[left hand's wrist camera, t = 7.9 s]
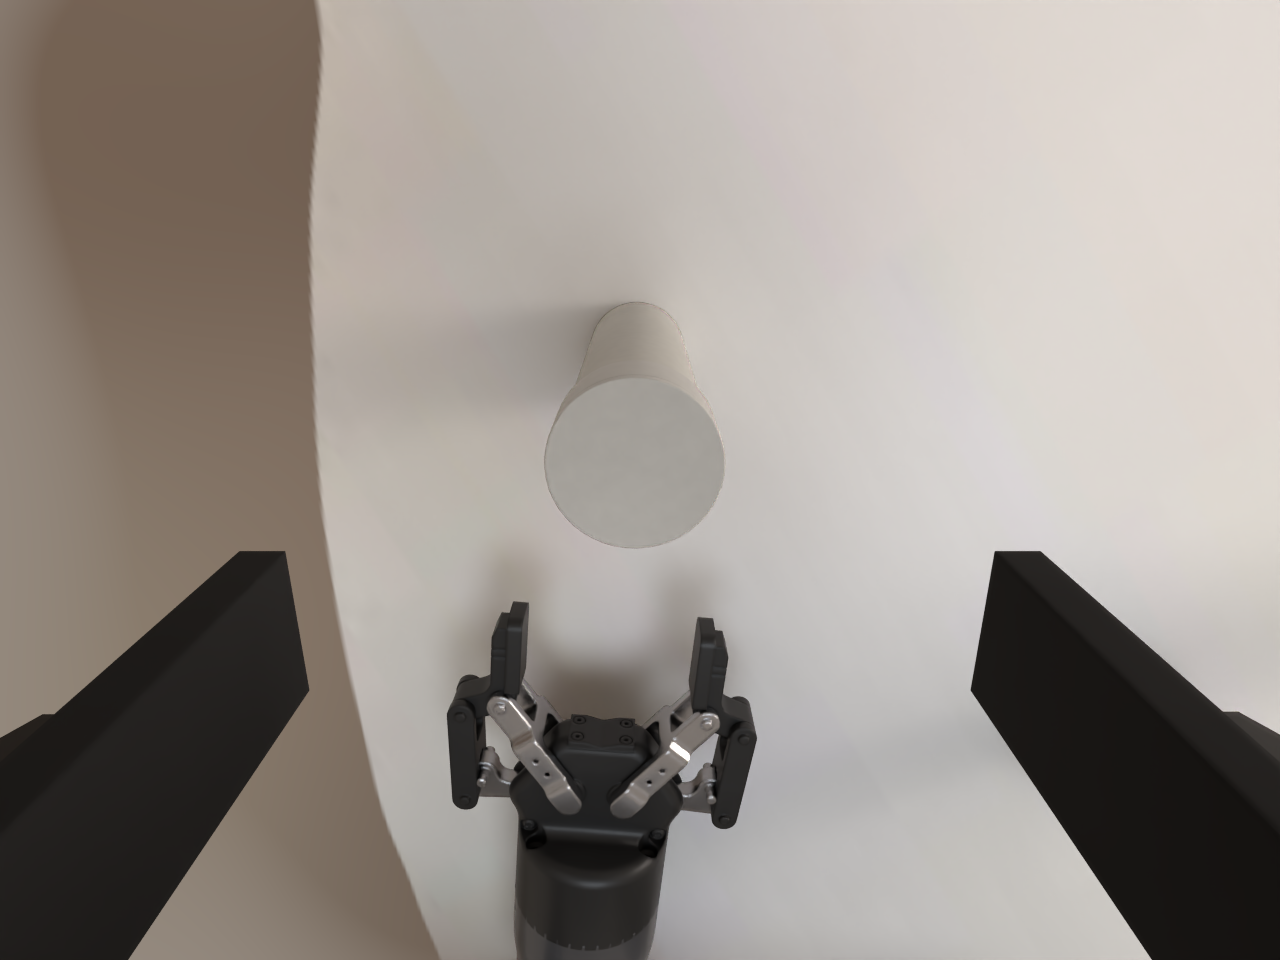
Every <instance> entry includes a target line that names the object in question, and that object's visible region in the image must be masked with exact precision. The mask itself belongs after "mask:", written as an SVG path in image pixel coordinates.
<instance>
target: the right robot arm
mask: <svg viewBox="0 0 1280 960" xmlns="http://www.w3.org/2000/svg"><path fill="white" fill-rule="evenodd" d="M528 615H529V603H526V602H513V604H512V607H511V610H510V613H503V612H502V613H501V615H500V617H499V619H498V621H497V624H496V627H495V630H494V632H493V635H492V645H491V648H492V649H491V674H490V675H488V676H486V677H482V678H479V677H477V676H475V675H466V676H463V677H462V678H461V679H460V681H459V683H458V686H457V692H456V694H455V697H454V700H453V702H452V704H451V705H450V707H449V710H448V713H447V724H448V739H449V754H450V769H451V784H452V799H453V803H454V804H455V805H456V806H457V807H458V808H460V809H471V808H473V807H475V806H476V804H477V802H478V798H479V796H482V797H510V798H511V800H512V802H513V804H514V805H515V807H516V809H517V811H518V815H519V823H518V844H517V864H516V884H515V906H514V935H515V943H516V949H517V960H647V958H648V955H649V952H650V949H651V946H652V942H653V938H654V932H655V926H656V919H657V911H658V904H659V896H660V889H661V882H662V874H663V867H664V859H665V852H666V845H667V837H668V830H669V826H670V824H671V822H672V820H673V819H674V818H675V817H676V816H677V815H678V813H679V812H680V810H686V811H694V812H702V813H710V814H711V817H712V823H713V824H714V825H715V826H716V827H717V828H720V829H727V828H730V827H732V826H733V825H734V824H735V823H736V821H737V817H738V813H739V809H740V805H741V801H742V797H743V793H744V789H745V785H746V781H747V777H748V773H749V769H750V765H751V761H752V757H753V753H754V749H755V745H756V741H757V736H756V731H755V727H754V722H753V717H752V713H751V708H750V704H749V702H748V700H747V699H745V698H744V697H740V696H737V697H733V698H729V697H727V696H725V695H724V694H723V689H724V682H725V675H726V668H727V662H728V653H727V648H726V643H725V639H724V635H723V632H722V631H716V630H715V627H714V621H713V618H701V617H698V618H697V623H696V631H695V638H694V646H693V653H692V660H691V668H690V675H689V687H690V690H689V691H688V692H686V693H685V694H684V695H683V696H682V697H681V698H680V699H679V700H678V701H676V702H675V703H674V704H673V705H672V706H669V705H666V706H664V707H663V708H661V709H660V710H659V711H658V712H657V713H656V714H655V715H654V716H653V717H651V718H650V719H649V720H648V721H647V722H646V723H645V724H644V725H643V726H639V725H636V724H635V719H628V718H615V719H608V720H601V719H597V718H594V717H591V716H588V715H576V714H572V716H571V719H568V720H564V721H563V719H562V718H561V717H560V716H559V714H558V713H557V712H556V710H555V709H554V708H553V707H552V705H551V704H550V703H549V702H548V700H547V699H546V698H545V697H544V696H542V695H540V696H538V695H537V694H536V693H535V692H534V690H533V689H532V688H531V687H530V685H529V684H528V683H527V682H526V680H525V679H524V678H523V677H524V673H525V669H526V656H527V636H528ZM489 715H490V716H491V717H492V718H493V719H494V720H495V722H496V723H497V724H498V725H499V727H500V728H501V729H502V730H503V731H504V733H505V734H506V735H507V736H508V737H509V739H510V741H511V747H512V750H513V752H514V754H515V755H516V756H517V758H518V759H519V760H520V761H519V762H518V763H517V764H516V766H515V767H514V769H508V768H506V767H504V766H503V765H502V764H501V762H500V758H499V756H498V755H497V754H496V753H495V748H494V747H492V746H488V747H486V730H485V716H489ZM714 733H716V734H719V736H718V741H717V745H716V749H715V754H714V758H713V762H712V764H711V763H705V764H704V765H703V768H702V769H701V770H700V771H699V772H698V774H697V776H696V777H695V779H693V780H692V781H689V782H682V781H681V778H680V775H679V774H678V772H680V771H681V770H682V769H683V768H684V767H685V766H686V765H687V763H688V761H689V759H690V756H691V754H692V753H693V752H694V751H695V750H696V749H697V748H698V747H699V746H700V745H702V744H703V743H704V742H705V741H706V740H707V739H708V738H710V737H711V736H712V735H713V734H714Z"/></svg>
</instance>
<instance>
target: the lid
mask: <svg viewBox="0 0 1280 960" xmlns="http://www.w3.org/2000/svg"><path fill="white" fill-rule="evenodd" d="M724 474H725V452H724V446H723V442H722V439H721V436H720V433H719V430H718V427H717V424H716V421H715V418H714V415H713V412H712V409H711V407H710V405H709V403H708V401H707V400H706V398H705V397H704V395H703V394H702V392H701V391H700V390H699V389H698V388H697V387H696V385H695V384H694V383H693V382H691V381H690V380H689V379H688V378H687V377H685V376H684V375H682V374H681V373H679V372H678V371H676V370H674V369H672V368H670V367H667V366H665V365H662V364H658V363H655V362H649V361H642V360H629V361H620V362H616V363H611V364H609V365H606V366H603V367H600V368H599V369H597V370H595V371H593V372H591V373H589V374H588V375H587V376H585V377H584V378H582V379H581V380H580V381H579V382H578V383H577V384H576V385H575V386H574V387H573V388H572V389H571V391H570V392H569V393H568V394H567V396H566V397H565V399H564V401H563V402H562V404H561V406H560V409H559V411H558V413H557V416H556V418H555V421H554V424H553V426H552V429H551V431H550V434H549V437H548V441H547V444H546V450H545V475H546V481H547V484H548V488H549V491H550V493H551V495H552V498H553V500H554V502H555V503H556V505H557V507H558V508H559V510H560V511H561V512H562V514H563V515H564V516H565V517H566V519H567V520H568V521H569V522H571V523H572V524H573V525H574V526H575V527H576V528H577V529H579V530H580V531H581V532H583V533H584V534H586V535H588V536H590V537H591V538H593V539H595V540H598V541H600V542H602V543H605V544H609V545H612V546H617V547H623V548H647V547H653V546H658V545H661V544H664V543H667V542H670V541H672V540H675V539H677V538H679V537H681V536H682V535H684V534H686V533H687V532H689V531H690V530H691V529H693V528H694V527H695V526H696V525H697V524H699V523H700V522H701V520H702V519H703V518H704V517H705V516H706V515H707V514H708V512H709V511H710V510H711V508H712V507H713V505H714V503H715V501H716V499H717V498H718V495H719V493H720V490H721V487H722V484H723V479H724Z"/></svg>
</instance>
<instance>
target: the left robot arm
mask: <svg viewBox="0 0 1280 960" xmlns="http://www.w3.org/2000/svg"><path fill="white" fill-rule="evenodd" d="M308 692H309V686H308V680H307V674H306V668H305V663H304V657H303V651H302V645H301V639H300V634H299V628H298V622H297V617H296V611H295V605H294V599H293V593H292V588H291V582H290V576H289V571H288V565H287V559H286V553H285V551H239V552H238V553H237V554H236V555H235V556H234V557H232V558H231V559H230V560H229V561H228V562H227V563H226V564H224V565H223V566H222V567H221V568H220V569H219V570H218V571H217V572H215V573H214V574H213V575H212V576H211V577H210V578H209V579H207V580H206V581H205V582H204V583H203V584H202V585H201V586H199V587H198V588H197V589H196V590H195V591H194V592H193V593H192V594H190V595H189V596H188V597H187V598H186V599H185V600H184V601H182V602H181V603H180V604H179V605H178V606H177V607H176V608H174V609H173V610H172V611H171V612H170V613H169V614H168V615H167V616H165V617H164V618H163V619H162V620H161V621H160V622H159V623H157V624H156V625H155V626H154V627H153V628H152V629H151V630H149V631H148V632H147V633H146V634H145V635H144V636H143V637H142V638H140V639H139V640H138V641H137V642H136V643H135V644H134V645H132V646H131V647H130V648H129V649H128V650H127V651H126V652H125V653H123V654H122V655H121V656H120V657H119V658H118V659H117V660H115V661H114V662H113V663H112V664H111V665H110V666H109V667H108V668H106V669H105V670H104V671H103V672H102V673H101V674H100V675H98V676H97V677H96V678H95V679H94V680H93V681H92V682H90V683H89V684H88V685H87V686H86V687H85V688H84V689H82V690H81V691H80V692H79V693H78V694H77V695H76V696H75V697H73V698H72V699H71V700H70V701H69V702H68V703H67V704H65V705H64V706H63V707H62V708H61V709H60V710H59V711H57V712H56V713H55V714H42V715H41V716H39V717H37V718H35V719H33V720H32V721H30V722H28V723H26V724H24V725H23V726H21V727H19V728H17V729H15V730H14V731H12V732H10V733H8V734H6V735H5V736H3V737H1V738H0V960H128V959H129V958H130V956H131V955H132V953H133V952H134V950H135V949H136V947H137V946H138V944H139V943H140V941H141V940H142V938H143V937H144V935H145V934H146V932H147V931H148V929H149V928H150V926H151V925H152V923H153V922H154V920H155V919H156V917H157V916H158V915H159V913H160V912H161V910H162V908H163V907H164V906H165V904H166V903H167V901H168V900H169V898H170V897H171V895H172V894H173V892H174V891H175V889H176V888H177V886H178V885H179V883H180V882H181V880H182V879H183V877H184V876H185V874H186V873H187V871H188V870H189V868H190V867H191V865H192V864H193V862H194V861H195V860H196V858H197V856H198V855H199V854H200V852H201V851H202V849H203V848H204V846H205V845H206V843H207V842H208V840H209V839H210V837H211V836H212V834H213V833H214V831H215V830H216V828H217V827H218V825H219V824H220V822H221V821H222V819H223V818H224V816H225V815H226V813H227V812H228V810H229V809H230V807H231V806H232V805H233V803H234V802H235V800H236V799H237V797H238V796H239V794H240V793H241V791H242V790H243V788H244V787H245V785H246V784H247V782H248V781H249V779H250V778H251V776H252V775H253V773H254V772H255V770H256V769H257V767H258V766H259V764H260V763H261V761H262V760H263V758H264V757H265V755H266V754H267V752H268V751H269V749H270V748H271V747H272V745H273V744H274V742H275V740H276V739H277V738H278V736H279V735H280V733H281V732H282V730H283V729H284V727H285V726H286V724H287V723H288V721H289V720H290V718H291V717H292V715H293V714H294V712H295V711H296V709H297V708H298V706H299V705H300V703H301V702H302V700H303V699H304V697H305V696H306V694H307V693H308ZM971 692H972V693H973V695H974V696H975V697H976V699H977V700H978V702H979V703H980V705H981V706H982V708H983V709H984V711H985V712H986V714H987V715H988V717H989V718H990V720H991V721H992V723H993V724H994V726H995V727H996V729H997V730H998V732H999V733H1000V735H1001V736H1002V738H1003V739H1004V741H1005V742H1006V744H1007V745H1008V747H1009V748H1010V750H1011V751H1012V752H1013V754H1014V755H1015V757H1016V758H1017V760H1018V761H1019V763H1020V764H1021V766H1022V767H1023V769H1024V770H1025V772H1026V773H1027V775H1028V776H1029V778H1030V779H1031V781H1032V782H1033V784H1034V785H1035V787H1036V788H1037V790H1038V791H1039V793H1040V794H1041V796H1042V797H1043V799H1044V800H1045V802H1046V803H1047V805H1048V806H1049V807H1050V809H1051V810H1052V812H1053V813H1054V815H1055V816H1056V818H1057V819H1058V821H1059V822H1060V824H1061V825H1062V827H1063V828H1064V830H1065V831H1066V833H1067V834H1068V836H1069V837H1070V839H1071V840H1072V842H1073V843H1074V845H1075V846H1076V848H1077V849H1078V851H1079V852H1080V854H1081V855H1082V857H1083V858H1084V860H1085V861H1086V862H1087V864H1088V865H1089V867H1090V868H1091V870H1092V871H1093V873H1094V874H1095V876H1096V877H1097V879H1098V880H1099V882H1100V883H1101V885H1102V886H1103V888H1104V889H1105V891H1106V892H1107V894H1108V895H1109V897H1110V898H1111V900H1112V901H1113V903H1114V904H1115V906H1116V907H1117V909H1118V910H1119V912H1120V913H1121V915H1122V916H1123V918H1124V919H1125V920H1126V922H1127V923H1128V925H1129V926H1130V928H1131V929H1132V931H1133V932H1134V934H1135V935H1136V937H1137V938H1138V940H1139V941H1140V943H1141V944H1142V946H1143V947H1144V949H1145V950H1146V952H1147V953H1148V955H1149V956H1150V958H1151V959H1152V960H1280V735H1279V734H1278V733H1276V732H1274V731H1272V730H1270V729H1269V728H1267V727H1265V726H1263V725H1261V724H1260V723H1258V722H1256V721H1254V720H1252V719H1251V718H1249V717H1247V716H1245V715H1243V714H1241V713H1240V712H1223V711H1221V710H1220V709H1219V708H1218V707H1217V706H1216V705H1215V704H1213V703H1212V702H1211V701H1210V700H1209V699H1208V698H1207V697H1205V696H1204V695H1203V694H1202V693H1201V692H1200V691H1199V690H1198V689H1196V688H1195V687H1194V686H1193V685H1192V684H1191V683H1190V682H1188V681H1187V680H1186V679H1185V678H1184V677H1183V676H1182V675H1180V674H1179V673H1178V672H1177V671H1176V670H1175V669H1174V668H1173V667H1171V666H1170V665H1169V664H1168V663H1167V662H1166V661H1165V660H1163V659H1162V658H1161V657H1160V656H1159V655H1158V654H1157V653H1156V652H1154V651H1153V650H1152V649H1151V648H1150V647H1149V646H1148V645H1146V644H1145V643H1144V642H1143V641H1142V640H1141V639H1140V638H1138V637H1137V636H1136V635H1135V634H1134V633H1133V632H1132V631H1131V630H1129V629H1128V628H1127V627H1126V626H1125V625H1124V624H1123V623H1121V622H1120V621H1119V620H1118V619H1117V618H1116V617H1115V616H1113V615H1112V614H1111V613H1110V612H1109V611H1108V610H1107V609H1106V608H1104V607H1103V606H1102V605H1101V604H1100V603H1099V602H1098V601H1096V600H1095V599H1094V598H1093V597H1092V596H1091V595H1090V594H1088V593H1087V592H1086V591H1085V590H1084V589H1083V588H1082V587H1081V586H1079V585H1078V584H1077V583H1076V582H1075V581H1074V580H1073V579H1071V578H1070V577H1069V576H1068V575H1067V574H1066V573H1065V572H1063V571H1062V570H1061V569H1060V568H1059V567H1058V566H1057V565H1056V564H1054V563H1053V562H1052V561H1051V560H1050V559H1049V558H1048V557H1046V556H1045V555H1044V554H1043V553H1042V552H1041V551H995V553H994V559H993V565H992V570H991V576H990V582H989V588H988V593H987V599H986V605H985V611H984V616H983V622H982V628H981V634H980V639H979V645H978V651H977V657H976V662H975V668H974V674H973V680H972V685H971Z"/></svg>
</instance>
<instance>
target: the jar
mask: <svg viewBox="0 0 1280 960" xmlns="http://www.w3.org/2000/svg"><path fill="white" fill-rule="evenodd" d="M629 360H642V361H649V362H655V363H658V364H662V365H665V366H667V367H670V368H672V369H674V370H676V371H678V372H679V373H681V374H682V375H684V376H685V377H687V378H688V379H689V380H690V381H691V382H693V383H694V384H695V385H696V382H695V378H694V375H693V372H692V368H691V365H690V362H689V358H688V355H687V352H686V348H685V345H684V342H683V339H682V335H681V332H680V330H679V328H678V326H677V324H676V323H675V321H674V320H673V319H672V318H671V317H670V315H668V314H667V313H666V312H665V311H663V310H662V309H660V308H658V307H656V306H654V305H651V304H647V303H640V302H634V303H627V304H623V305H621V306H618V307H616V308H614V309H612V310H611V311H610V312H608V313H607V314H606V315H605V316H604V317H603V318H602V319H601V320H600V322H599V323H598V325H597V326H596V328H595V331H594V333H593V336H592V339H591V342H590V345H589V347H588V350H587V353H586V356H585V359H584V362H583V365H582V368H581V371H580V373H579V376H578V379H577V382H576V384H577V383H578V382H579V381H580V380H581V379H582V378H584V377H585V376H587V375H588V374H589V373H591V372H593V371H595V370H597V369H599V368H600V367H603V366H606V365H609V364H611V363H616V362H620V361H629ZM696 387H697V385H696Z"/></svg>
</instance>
